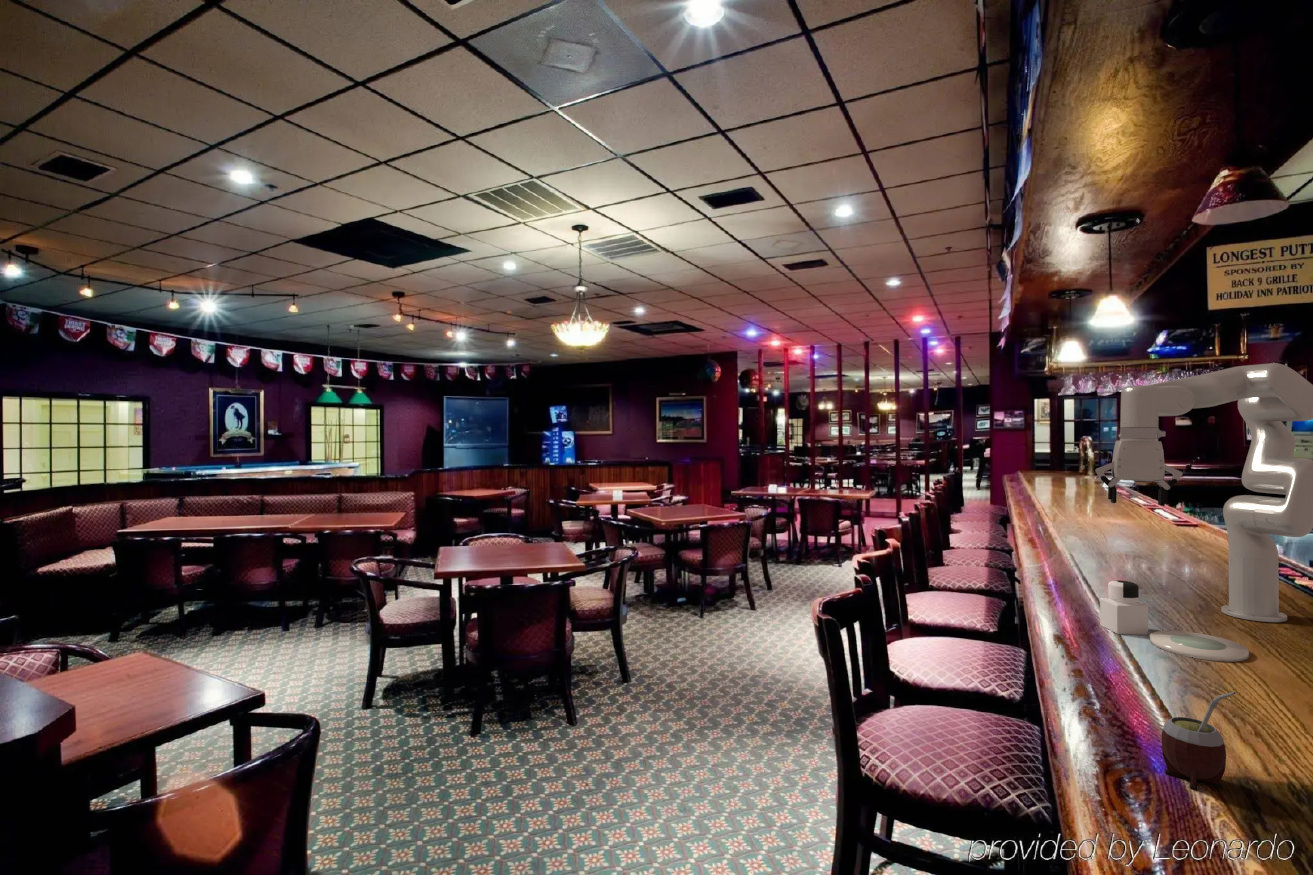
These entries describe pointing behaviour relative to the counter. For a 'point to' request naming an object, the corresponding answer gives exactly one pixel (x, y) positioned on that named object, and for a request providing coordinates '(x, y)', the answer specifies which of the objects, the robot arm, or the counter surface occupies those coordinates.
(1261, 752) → the counter surface
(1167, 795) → the counter surface
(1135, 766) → the counter surface
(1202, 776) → the mate gourd
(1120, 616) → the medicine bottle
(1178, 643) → the plate
